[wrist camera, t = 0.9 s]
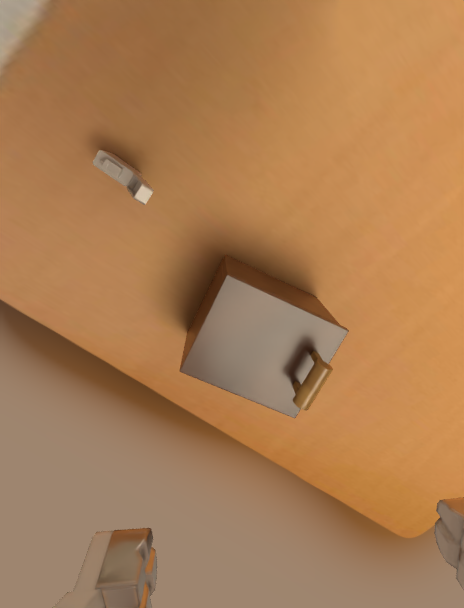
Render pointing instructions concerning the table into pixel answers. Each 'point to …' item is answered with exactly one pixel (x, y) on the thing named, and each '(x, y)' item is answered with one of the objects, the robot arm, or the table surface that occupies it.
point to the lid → (263, 348)
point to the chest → (260, 281)
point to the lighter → (124, 175)
